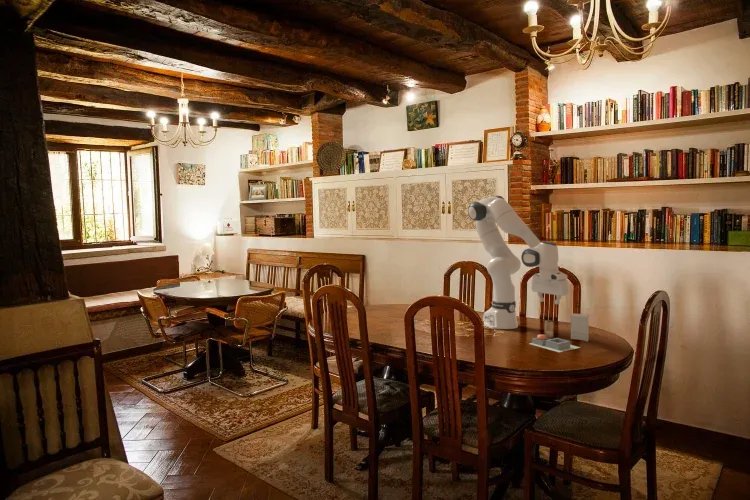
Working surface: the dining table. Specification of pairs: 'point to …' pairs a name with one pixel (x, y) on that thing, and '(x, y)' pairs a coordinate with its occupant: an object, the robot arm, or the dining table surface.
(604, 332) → the dining table surface
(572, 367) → the dining table surface
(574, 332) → the supplement box
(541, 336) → the test button
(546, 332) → the cell
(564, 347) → the grey test fixture
